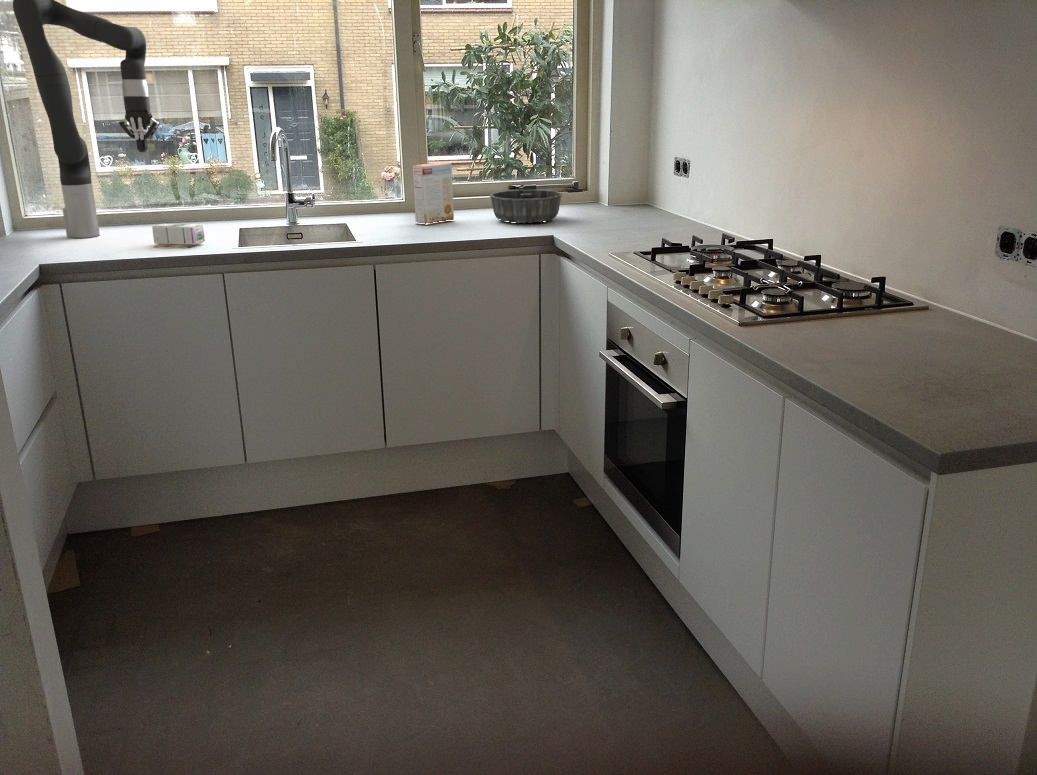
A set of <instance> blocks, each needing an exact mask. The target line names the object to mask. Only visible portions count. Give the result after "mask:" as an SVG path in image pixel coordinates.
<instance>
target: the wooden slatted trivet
mask: <svg viewBox="0 0 1037 775" xmlns="http://www.w3.org/2000/svg"><path fill="white" fill-rule="evenodd" d="M191 246H193V245H189V244H155V245H153V248H154V247H190V248H192V247H191ZM193 247H194V246H193Z"/></svg>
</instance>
